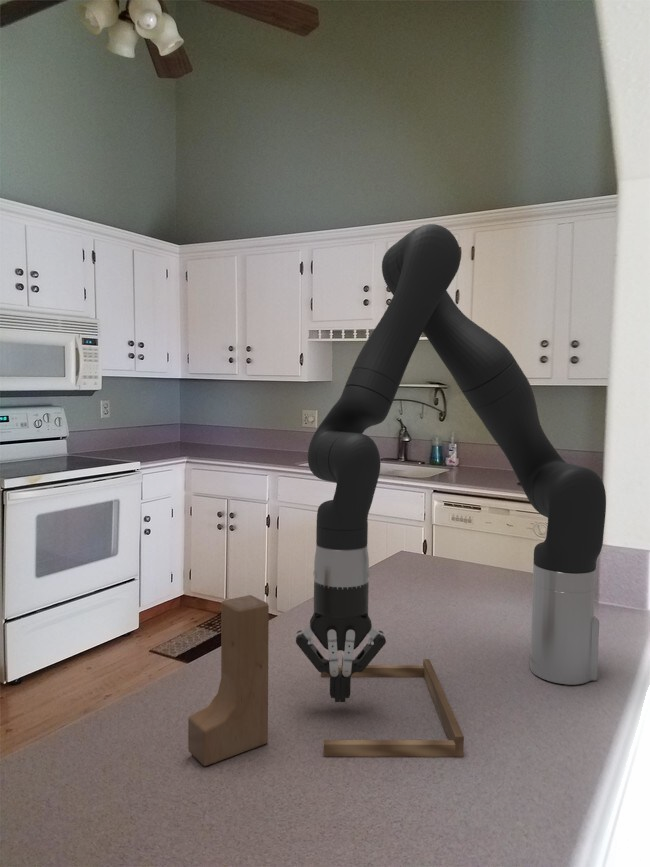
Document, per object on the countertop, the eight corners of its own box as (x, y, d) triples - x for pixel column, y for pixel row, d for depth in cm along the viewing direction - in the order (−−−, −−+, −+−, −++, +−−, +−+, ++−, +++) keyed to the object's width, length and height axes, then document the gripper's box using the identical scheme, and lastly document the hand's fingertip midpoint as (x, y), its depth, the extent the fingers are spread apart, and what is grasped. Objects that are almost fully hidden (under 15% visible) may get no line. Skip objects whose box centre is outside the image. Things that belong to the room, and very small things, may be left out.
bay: (429, 674, 102) (429, 659, 101) (463, 756, 79) (463, 736, 78) (321, 674, 101) (321, 658, 101) (323, 756, 78) (323, 736, 78)
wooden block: (203, 768, 75) (203, 617, 74) (187, 751, 79) (186, 607, 78) (269, 743, 81) (269, 602, 80) (250, 728, 84) (251, 593, 83)
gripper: (386, 569, 92) (384, 687, 94) (294, 569, 92) (292, 687, 93) (392, 585, 85) (390, 713, 86) (292, 584, 85) (291, 713, 86)
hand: (339, 699), depth 90 cm, fingers closed
